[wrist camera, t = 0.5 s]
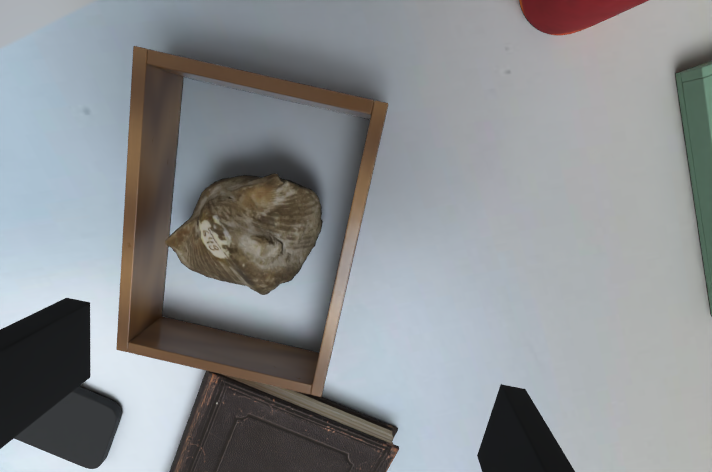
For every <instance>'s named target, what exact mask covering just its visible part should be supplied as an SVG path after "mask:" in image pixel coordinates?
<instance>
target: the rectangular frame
mask: <svg viewBox="0 0 712 472" xmlns="http://www.w3.org/2000/svg"><path fill="white" fill-rule="evenodd" d="M183 77H185V78H189V79H194V80H198V81H202V82H207V83H211V84H216V85H220V86H225V87H229V88H233V89H238V90H242V91H247V92H251V93H255V94H260V95H264V96H269V97H273V98H278V99H282V100H286V101H291V102H295V103H300V104H304V105H309V106H313V107H317V108H322V109H326V110H331V111H335V112H339V113H344V114H348V115H353V116H357V117H362V118H366V119H370V123H369V128H368V132H367V137H366V141H365V146H364V151H363V155H362V160H361V164H360V169H359V173H358V178H357V183H356V187H355V192H354V196H353V201H352V205H351V210H350V215H349V219H348V224H347V228H346V233H345V237H344V242H343V247H342V251H341V256H340V260H339V265H338V269H337V274H336V279H335V283H334V288H333V292H332V297H331V301H330V306H329V311H328V315H327V320H326V324H325V329H324V334H323V338H322V343H321V347H320V352H319V353H318V352H314V351H310V350H305V349H301V348H297V347H292V346H288V345H284V344H280V343H275V342H271V341H267V340H262V339H258V338H254V337H249V336H245V335H241V334H236V333H232V332H228V331H223V330H219V329H215V328H211V327H206V326H202V325H198V324H193V323H189V322H185V321H180V320H176V319H172V318H167V317H163V316H162V309H163V298H164V287H165V276H166V264H167V253H168V246H167V245H166V244H165V240H166V239H167V238H168V237H169V231H170V220H171V209H172V198H173V187H174V175H175V164H176V153H177V142H178V131H179V120H180V109H181V97H182V86H183ZM387 108H388V103H385V102H380V101H374V100H371V99H367V98H362V97H358V96H353V95H349V94H345V93H340V92H336V91H331V90H327V89H322V88H318V87H314V86H309V85H305V84H300V83H296V82H292V81H287V80H283V79H278V78H274V77H269V76H265V75H261V74H256V73H252V72H247V71H243V70H238V69H234V68H230V67H225V66H221V65H216V64H212V63H207V62H203V61H199V60H194V59H190V58H185V57H181V56H176V55H172V54H168V53H163V52H159V51H154V50H149V49H146V48H141V47H137V46H134V47H133V65H132V83H131V101H130V119H129V136H128V154H127V172H126V190H125V208H124V226H123V244H122V262H121V279H120V297H119V315H118V333H117V350H120V351H125V352H129V353H134V354H138V355H142V356H147V357H151V358H155V359H159V360H164V361H168V362H172V363H177V364H181V365H185V366H189V367H194V368H198V369H202V370H207V371H211V372H215V373H219V374H224V375H228V376H232V377H237V378H241V379H245V380H250V381H254V382H258V383H262V384H267V385H271V386H275V387H280V388H284V389H288V390H292V391H297V392H301V393H305V394H311V395H314V396H319V397H321V396H322V392H323V388H324V384H325V379H326V375H327V371H328V367H329V362H330V358H331V353H332V349H333V345H334V340H335V336H336V332H337V327H338V323H339V318H340V314H341V310H342V305H343V301H344V297H345V292H346V288H347V283H348V279H349V275H350V270H351V266H352V262H353V257H354V253H355V248H356V244H357V240H358V235H359V231H360V227H361V222H362V218H363V213H364V209H365V205H366V200H367V196H368V192H369V187H370V183H371V178H372V174H373V170H374V165H375V161H376V157H377V152H378V148H379V143H380V139H381V135H382V130H383V126H384V122H385V117H386V113H387Z"/></svg>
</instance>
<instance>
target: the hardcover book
mask: <svg viewBox="0 0 712 472" xmlns="http://www.w3.org/2000/svg"><path fill="white" fill-rule="evenodd" d="M397 431H398V428H396V427H394V426H391V425H389V424H386V423H384V422H381V421H379V420H377V419H374V418H372V417H369V416H367V415H364V414H362V413H359V412H357V411H355V410H352V409H350V408H347V407H345V406H342V405H340V404H337V403H335V402H333V401H330V400H328V399H325V398H323V397H319V396H314V395H311V394H305V393H301V392H297V391H292V390H288V389H284V388H280V387H275V386H271V385H267V384H262V383H258V382H254V381H250V380H245V379H241V378H237V377H232V376H228V375H224V374H219V373H215V372H211V371H207V370H206V373H205V375H204V378H203V381H202V384H201V386H200V389H199V392H198V395H197V397H196V400H195V403H194V406H193V408H192V411H191V414H190V417H189V419H188V422H187V425H186V428H185V430H184V433H183V436H182V439H181V441H180V444H179V447H178V450H177V452H176V455H175V458H174V461H173V463H172V466H171V469H170V472H386V471H387V470H388V468H389V466H390V464H391V463H392V461H393V459H394V457H395V455H396V454H397V452H398V450H399V446H396V445H394V444H393V443H392V441H393V438H394V436H395V434H396V433H397Z"/></svg>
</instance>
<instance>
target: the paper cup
mask: <svg viewBox="0 0 712 472" xmlns="http://www.w3.org/2000/svg"><path fill="white" fill-rule="evenodd" d="M646 1H648V0H519V2H520V6H521V9H522V11H523V13H524V15H525V17H526V18H527V20H528V21H529V22H530V23H531V24H532V25H533V26H534V27H535V28H537V29H538V30H540V31H542V32H544V33H547V34H551V35H567V34H572V33H575V32H578V31H581V30H583V29H586V28H588V27H591V26H593V25H595V24H598V23H600V22H602V21H604V20H606V19H609V18H611V17H613V16H615V15H618V14H620V13H622V12H624V11H627V10H629V9H631V8H633V7H635V6H637V5H640V4H642V3H644V2H646Z"/></svg>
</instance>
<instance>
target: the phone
mask: <svg viewBox="0 0 712 472" xmlns="http://www.w3.org/2000/svg"><path fill="white" fill-rule="evenodd" d="M121 415H122V412H121V408H120V407H119V405H118V404H117V403H115V402H114V401H112V400H110V399H107V398H105V397H103V396H100V395H98V394H96V393H93V392H91V391H89V390H86V389H84V388H82V387H77V388H76V389H75V390H74V391H72V392H71V393H70V394H68V395H67V396H66V397H65V398H63V399H62V400H61V401H60V402H58V403H57V404H56V405H55V406H53V407H52V408H51V409H50V410H48V411H47V412H46V413H45V414H43V415H42V416H41V417H40V418H38V419H37V420H36V421H35V422H33V423H32V424H31V425H30V426H28V427H27V428H26V429H25V430H23V431H22V432H21V433H20V434H18V435H17V436H16V437H14V439H17V440H19V441H22V442H24V443H27V444H29V445H31V446H34V447H36V448H39V449H41V450H44V451H46V452H48V453H51V454H53V455H56V456H58V457H60V458H63V459H65V460H68V461H70V462H73V463H75V464H77V465H80V466H82V467H85V468H89V469H95V468H98V467H99V466H100V465H101V464H102V463H103V461H104V460H105V459H106V457H107V455H108V452H109V449H110V446H111V444H112V441H113V438H114V435H115V433H116V430H117V427H118V424H119V421H120V419H121Z"/></svg>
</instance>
